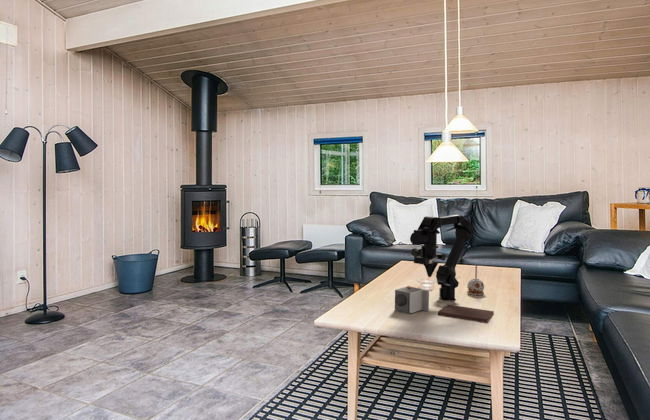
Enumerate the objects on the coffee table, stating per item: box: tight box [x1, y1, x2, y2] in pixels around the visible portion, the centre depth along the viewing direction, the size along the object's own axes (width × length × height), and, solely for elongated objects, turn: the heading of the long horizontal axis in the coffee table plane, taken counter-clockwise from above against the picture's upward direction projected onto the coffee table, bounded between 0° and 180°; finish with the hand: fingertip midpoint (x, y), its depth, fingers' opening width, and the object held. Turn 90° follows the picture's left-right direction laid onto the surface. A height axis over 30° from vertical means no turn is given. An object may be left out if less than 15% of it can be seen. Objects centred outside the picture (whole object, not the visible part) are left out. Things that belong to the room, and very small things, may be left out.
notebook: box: [437, 303, 495, 323], centre depth 182 cm, size 15×20×2 cm
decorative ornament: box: [467, 264, 485, 296], centre depth 217 cm, size 8×8×15 cm
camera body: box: [394, 285, 422, 315], centre depth 187 cm, size 11×7×10 cm, turn 135°
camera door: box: [409, 288, 430, 314], centre depth 184 cm, size 10×4×8 cm, turn 135°
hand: (429, 276), depth 200 cm, fingers closed
